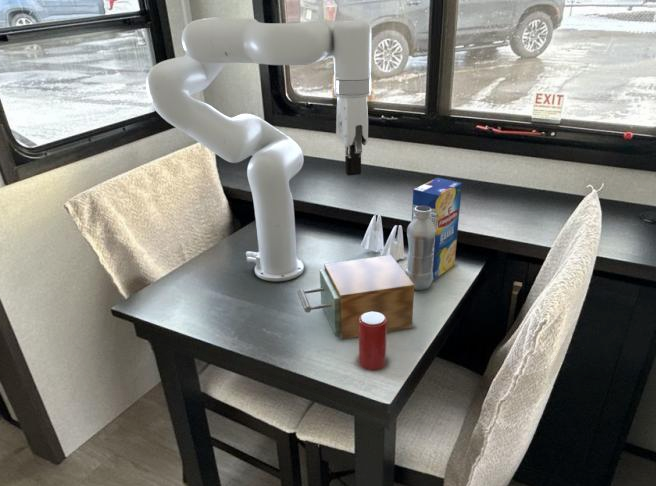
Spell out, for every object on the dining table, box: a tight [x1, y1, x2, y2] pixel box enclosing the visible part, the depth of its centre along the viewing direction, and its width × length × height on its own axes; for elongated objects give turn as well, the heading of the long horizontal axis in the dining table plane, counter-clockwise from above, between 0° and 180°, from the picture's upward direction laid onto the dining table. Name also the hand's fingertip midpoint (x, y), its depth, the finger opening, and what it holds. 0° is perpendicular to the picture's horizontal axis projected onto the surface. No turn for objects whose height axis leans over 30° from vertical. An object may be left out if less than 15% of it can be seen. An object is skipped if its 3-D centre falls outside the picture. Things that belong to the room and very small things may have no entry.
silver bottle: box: [405, 206, 436, 291], centre depth 128 cm, size 6×7×20 cm
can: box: [358, 312, 387, 371], centre depth 105 cm, size 5×5×10 cm
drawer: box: [297, 268, 341, 336], centre depth 119 cm, size 20×13×9 cm, turn 104°
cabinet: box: [323, 255, 415, 340], centre depth 120 cm, size 16×15×11 cm
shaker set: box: [360, 214, 405, 262], centre depth 146 cm, size 12×4×11 cm, turn 52°
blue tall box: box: [411, 177, 463, 281], centre depth 135 cm, size 7×11×22 cm, turn 140°
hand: (353, 173), depth 123 cm, fingers closed
